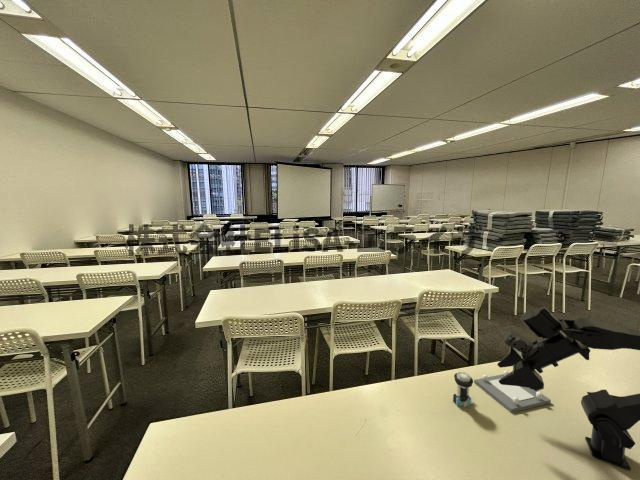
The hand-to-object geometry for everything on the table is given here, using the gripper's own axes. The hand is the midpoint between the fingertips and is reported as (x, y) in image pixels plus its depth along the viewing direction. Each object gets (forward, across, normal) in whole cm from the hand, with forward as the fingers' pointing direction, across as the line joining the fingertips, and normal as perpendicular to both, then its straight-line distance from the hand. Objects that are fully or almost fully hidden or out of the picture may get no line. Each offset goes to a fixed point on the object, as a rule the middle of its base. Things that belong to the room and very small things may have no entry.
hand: (499, 373), depth 76 cm
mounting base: (+6, -14, +13) cm, 20 cm away
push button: (+16, 0, +4) cm, 16 cm away
